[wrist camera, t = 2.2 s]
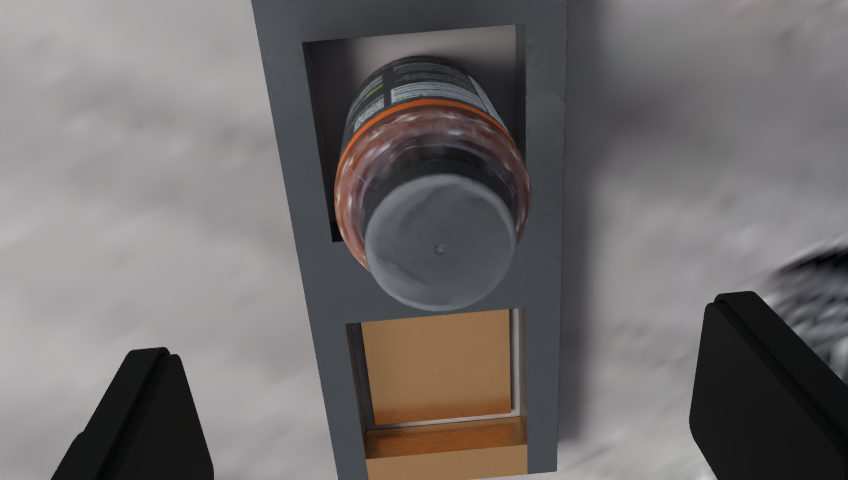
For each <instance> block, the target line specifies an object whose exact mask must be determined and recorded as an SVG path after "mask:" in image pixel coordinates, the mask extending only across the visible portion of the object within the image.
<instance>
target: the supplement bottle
mask: <svg viewBox="0 0 848 480" xmlns="http://www.w3.org/2000/svg"><path fill="white" fill-rule="evenodd" d="M334 204H335V214H336V219H337V223H338V227H339V230H340V233H341V235H342V237H343V239H344V241H345V243H346V245H347V247H348V249H349V250H350V252H351V253H352V254H353V256H354V257H355V258H356V259H357V260H358V261H359V262H360V263H361V264H362V265H363V266H364V267H365V268H366V269H367V270H368V271H369V272H371V274H372V276H373V277H374V278H375V280H376V282H377V283H378V284H379V285H380V287H381V288H382V289H383V290H384V291H385V292H386V293H387V294H389V295H390V296H391V297H392V298H394V299H396V300H398V301H399V302H401V303H402V304H405V305H408V306H410V307H413V308H416V309H422V310H426V311H452V310H455V309H461V308H465V307H467V306H470V305H472V304H474V303H476V302H478V301H480V300H481V299H483V298H485V297H486V296H487V295H489V294H490V293H491V292H492V291H494V290H495V289H496V288H497V287H498V286H499V285H500V284H501V282H502V281H503V280H504V279H505V277H506V275H507V274H508V272H509V270H510V268H511V266H512V263H513V261H514V257H515V254H516V249H517V246H518V244H519V242H520V240H521V238H522V236H523V234H524V232H525V230H526V227H527V225H528V221H529V216H530V213H531V204H532V188H531V182H530V177H529V175H528V171H527V168H526V165H525V163H524V160H523V158H522V156H521V154H520V152H519V150H518V148H517V147H516V145H515V143H514V141H513V139H512V136H511V134H510V133H509V132H508V130H507V129H506V127H505V125H504V124H503V122H502V120H501V119H500V117H499V112H498V111H497V112H496V110H495V109H494V107H493V106H492V104H491V102H490V100H489V99H488V97H487V96H486V94H485V92H484V91H483V90H482V89H481V87H480V86H479V85H478V83H477V82H476V81H475V80H474V79H473V78H472V76H470V75H469V74H468V73H467V72H466V71H465V70H463V69H461V68H460V67H459V66H457V65H455V64H453V63H451V62H449V61H447V60H443V59H440V58H436V57H431V56H411V57H404V58H401V59H397V60H394V61H392V62H390V63H388V64H386V65H384V66H382V67H381V68H379V69H378V70H376V71H375V72H374V73H373V74H372V75H370V76H369V77H368V78H367V79H366V80H365V81H364V83H363V84H362V85H361V87H360V88H359V90H358V91H357V93H356V95H355V97H354V98H353V100H352V103H351V105H350V107H349V112H348V114H347V119H346V125H345V129H344V134H343V140H342V146H341V151H340V157H339V163H338V166H337V173H336V181H335V187H334Z"/></svg>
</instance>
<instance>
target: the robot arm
mask: <svg viewBox="0 0 848 480" xmlns="http://www.w3.org/2000/svg"><path fill="white" fill-rule="evenodd" d="M689 425H690V430H691V433H692V436H693V438H694V440H695V442H696V444H697V445H698V447H699V449H700V450H701V452H702V454H703V455H704V457H705V459H706V461H707V462H708V464H709V466H710V467H711V469H712V471H713V472H714V474H715V476H716V477H717V479H718V480H848V386H847V385H846V384H845V383H844V382H843V381H842V380H841V379H840V378H839V377H838V376H837V375H836V374H835V373H834V372H833V371H832V370H831V369H830V368H829V367H828V366H827V365H826V364H825V363H824V362H823V361H822V360H821V359H820V358H819V357H818V356H817V355H816V354H815V353H814V352H813V351H812V350H811V349H810V348H809V347H808V346H807V345H806V343H805V342H804V341H803V340H802V339H801V338H800V337H799V336H798V335H797V334H796V333H795V332H794V331H793V330H792V329H791V328H790V327H789V326H788V325H787V324H786V323H785V322H784V321H783V320H782V319H781V318H780V317H779V316H778V315H777V314H776V313H775V312H774V311H773V310H772V309H771V308H770V307H769V306H768V305H767V304H766V303H765V302H764V301H763V300H762V299H761V298H760V297H759V296H758V295H757V294H756V293H755V292H753V291H744V292H733V293H723V294H719V295H717V296H716V298H715V300H714V303H709V304H707V306H706V308H705V312H704V319H703V326H702V333H701V340H700V347H699V354H698V361H697V367H696V374H695V381H694V388H693V395H692V402H691V409H690V416H689ZM51 480H214V469H213V464H212V461H211V457H210V454H209V451H208V447H207V444H206V441H205V437H204V434H203V431H202V428H201V424H200V421H199V418H198V414H197V411H196V408H195V404H194V401H193V398H192V394H191V391H190V388H189V384H188V381H187V378H186V374H185V371H184V368H183V365H182V361H181V359H180V357H179V356H178V355H177V354H172V355H170V352H169V351H168V349H167V348H165V347H158V348H148V349H137V350H132V351H130V352H129V353H128V354H127V355H126V357H125V359H124V361H123V363H122V364H121V366H120V368H119V370H118V371H117V373H116V375H115V377H114V378H113V380H112V382H111V384H110V385H109V387H108V389H107V391H106V392H105V394H104V396H103V398H102V399H101V401H100V403H99V405H98V407H97V408H96V410H95V412H94V414H93V415H92V417H91V419H90V421H89V422H88V424H87V426H86V428H85V429H84V431H83V432H81V433H80V434H78V435H77V437H76V438H75V439H74V441H73V442H72V444H71V445H70V447H69V449H68V451H67V452H66V454H65V456H64V458H63V459H62V461H61V463H60V465H59V466H58V468H57V470H56V471H55V473H54V475H53V477H52V478H51Z"/></svg>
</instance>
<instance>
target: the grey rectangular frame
mask: <svg viewBox="0 0 848 480" xmlns="http://www.w3.org/2000/svg"><path fill="white" fill-rule="evenodd" d="M251 2H252V7H253V13H254V18H255V24H256V29H257V35H258V40H259V46H260V51H261V57H262V62H263V68H264V73H265V79H266V84H267V90H268V95H269V101H270V106H271V112H272V117H273V123H274V128H275V134H276V139H277V145H278V150H279V156H280V161H281V167H282V172H283V178H284V183H285V189H286V194H287V200H288V205H289V211H290V216H291V222H292V227H293V233H294V238H295V244H296V249H297V255H298V260H299V266H300V271H301V277H302V282H303V288H304V293H305V299H306V304H307V310H308V315H309V321H310V326H311V332H312V337H313V343H314V348H315V353H316V359H317V364H318V370H319V375H320V381H321V386H322V392H323V397H324V403H325V408H326V414H327V419H328V425H329V430H330V436H331V441H332V447H333V452H334V458H335V463H336V469H337V474H338V480H470V479H481V478H491V477H502V476H513V475H524V474H534V473H545V472H556V471H557V440H558V397H559V354H560V311H561V268H562V225H563V182H564V139H565V96H566V53H567V10H568V0H251ZM510 24H516V95H517V148H518V150H519V152H520V154H521V156H522V158H523V160H524V163H525V165H526V168H527V171H528V175H529V177H530V182H531V188H532V204H531V213H530V216H529V221H528V225H527V227H526V230H525V232H524V234H523V236H522V238H521V240H520V242H519V244H518V246H517V249H516V254H515V257H514V261H513V263H512V266H511V268H510V270H509V272H508V274H507V275H506V277H505V279H504V280H503V281H502V282H501V284H500V285H499V286H498V287H497V288H496V289H495V290H494V291H492V292H491V293H490V294H489V295H487V296H486V297H485V298H483V299H481V300H480V301H478V302H476V303H474V304H472V305H470V306H467V307H465V308H461V309H455V310H452V311H426V310H422V309H416V308H413V307H410V306H408V305H405V304H402V303H401V302H399V301H398V300H396V299H394V298H392V297H391V296H390V295H389V294H387V293H386V292H385V291H384V290H383V289H382V288H381V287H380V285H379V284H378V283H377V282H376V280H375V278H374V277H373V276H372V274H371V272H369V271H368V270H367V269H366V268H365V267H364V266H363V265H362V264H361V263H360V262H359V261H358V260H357V259H356V258H355V257H354V256H353V254H352V253H351V252H350V250H349V249H348V247H347V245H346V243H345V241H344V239H343V237H342V235H341V233H340V230H339V227H338V223H337V222H336V220H335V213H334V206H333V199H332V193H331V186H330V179H329V172H328V166H327V159H326V152H325V146H324V139H323V132H322V125H321V119H320V112H319V105H318V98H317V92H316V85H315V78H314V71H313V65H312V58H311V51H310V44H309V42H310V41H322V40H334V39H346V38H357V37H369V36H381V35H393V34H404V33H416V32H428V31H440V30H452V29H463V28H475V27H487V26H499V25H510ZM516 308H519V377H520V417H511V418H501V419H490V420H479V421H468V422H457V423H446V424H435V425H425V426H414V427H403V428H392V429H381V430H370V431H367V428H366V422H365V415H364V408H363V402H362V395H361V388H360V381H359V375H358V368H357V361H356V354H355V348H354V341H353V334H352V327H351V323H361V326H362V334H363V341H364V348H365V355H366V362H367V369H368V376H369V384H370V391H371V398H372V405H373V412H374V419H375V425H384V424H395V423H405V422H416V421H427V420H438V419H449V418H460V417H471V416H481V415H492V414H503V413H511V392H510V338H509V309H516Z"/></svg>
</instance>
